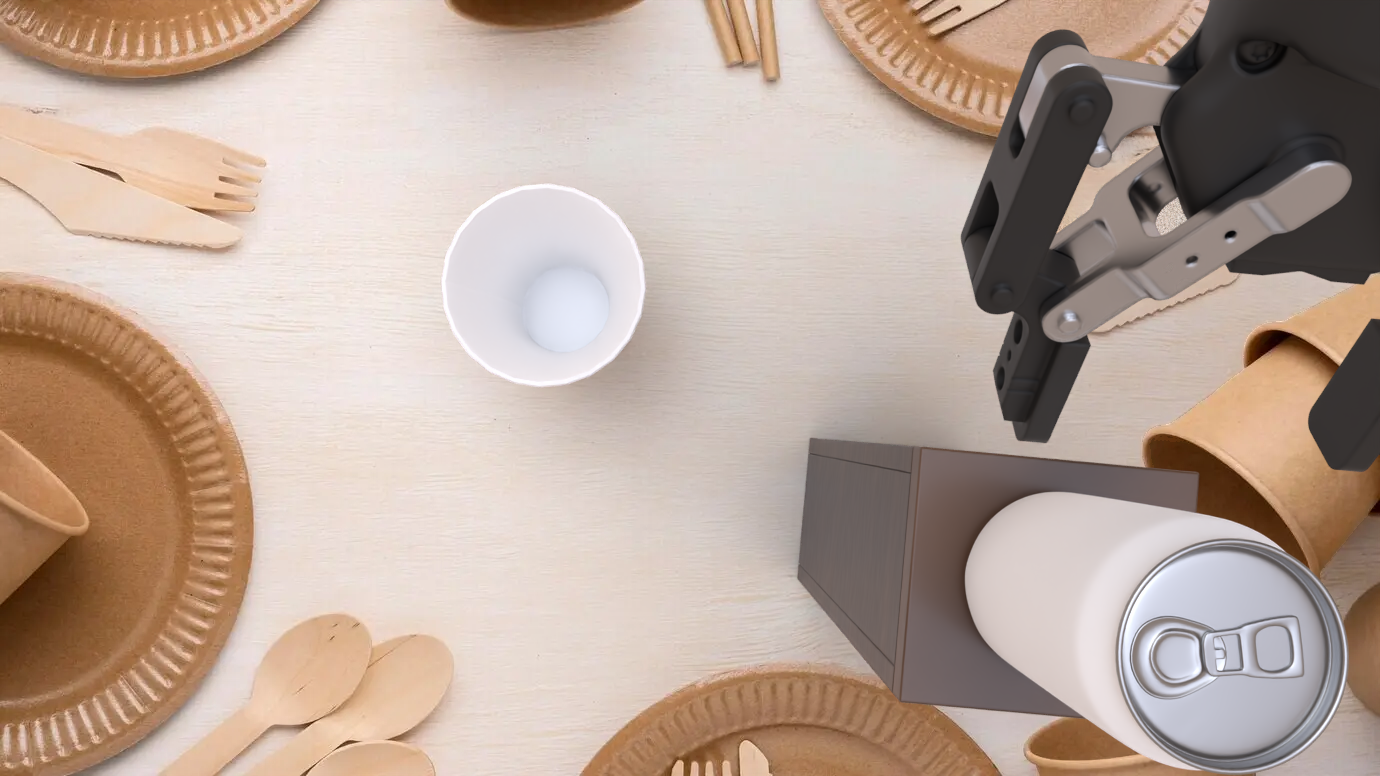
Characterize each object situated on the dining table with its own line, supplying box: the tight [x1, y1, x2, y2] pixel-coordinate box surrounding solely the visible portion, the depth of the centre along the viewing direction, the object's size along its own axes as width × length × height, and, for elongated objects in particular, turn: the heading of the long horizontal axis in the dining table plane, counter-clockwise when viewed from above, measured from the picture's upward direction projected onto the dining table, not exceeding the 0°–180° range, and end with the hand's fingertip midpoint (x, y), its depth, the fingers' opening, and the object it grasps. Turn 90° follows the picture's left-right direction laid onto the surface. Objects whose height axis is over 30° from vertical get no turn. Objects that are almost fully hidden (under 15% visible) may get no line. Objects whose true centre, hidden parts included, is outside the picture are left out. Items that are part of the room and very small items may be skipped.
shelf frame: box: [797, 437, 916, 694], centre depth 53 cm, size 10×9×29 cm
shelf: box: [892, 445, 1200, 720], centre depth 38 cm, size 10×9×1 cm
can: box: [965, 492, 1350, 776], centre depth 31 cm, size 6×6×12 cm
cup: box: [440, 182, 647, 389], centre depth 60 cm, size 10×10×14 cm
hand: (1178, 435), depth 29 cm, fingers open, 8 cm apart
